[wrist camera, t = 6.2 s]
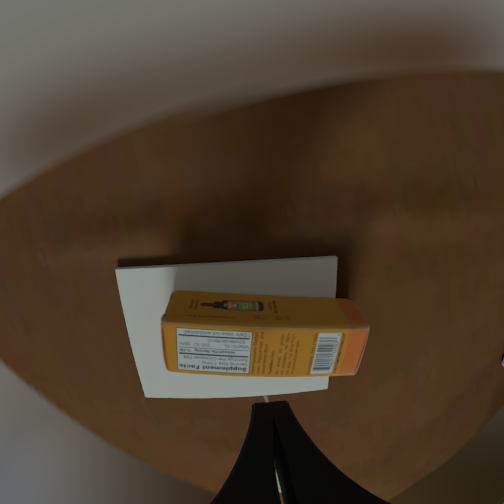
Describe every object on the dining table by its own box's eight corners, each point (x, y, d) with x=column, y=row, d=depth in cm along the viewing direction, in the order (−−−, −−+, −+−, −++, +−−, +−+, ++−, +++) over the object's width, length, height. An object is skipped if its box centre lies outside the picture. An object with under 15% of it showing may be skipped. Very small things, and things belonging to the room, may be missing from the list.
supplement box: (339, 347, 18) (172, 336, 18) (353, 297, 17) (172, 282, 17) (355, 381, 15) (161, 371, 15) (374, 327, 14) (159, 312, 14)
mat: (335, 255, 17) (337, 257, 17) (326, 385, 20) (327, 388, 19) (117, 267, 17) (115, 269, 16) (146, 393, 19) (145, 397, 19)
